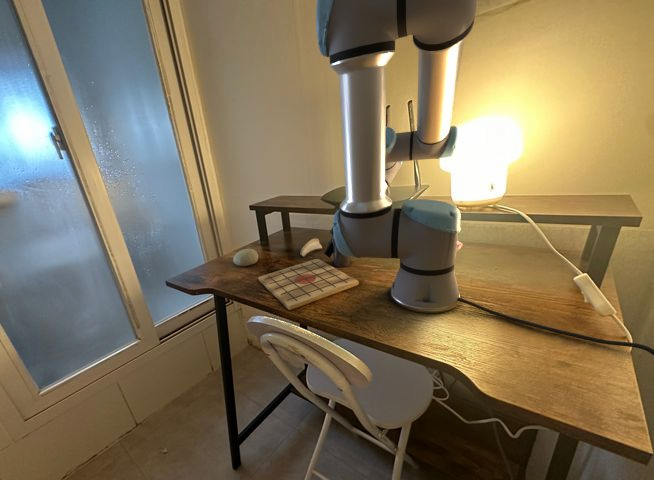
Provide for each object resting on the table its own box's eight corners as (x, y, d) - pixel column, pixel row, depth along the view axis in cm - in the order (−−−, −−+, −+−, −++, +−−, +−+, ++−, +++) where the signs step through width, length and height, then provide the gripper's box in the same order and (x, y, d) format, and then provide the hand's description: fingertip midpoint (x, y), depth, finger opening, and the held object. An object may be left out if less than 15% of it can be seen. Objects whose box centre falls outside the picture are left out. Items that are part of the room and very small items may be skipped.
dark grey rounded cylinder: (353, 263, 98) (352, 231, 93) (340, 268, 96) (338, 235, 91) (343, 259, 102) (342, 227, 97) (330, 263, 100) (328, 231, 96)
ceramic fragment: (317, 243, 119) (317, 233, 118) (329, 244, 116) (328, 234, 115) (298, 256, 110) (297, 247, 108) (311, 258, 107) (310, 248, 105)
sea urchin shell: (226, 260, 110) (236, 241, 111) (241, 269, 116) (250, 250, 117) (241, 265, 104) (251, 245, 105) (256, 274, 109) (265, 254, 110)
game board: (358, 284, 85) (358, 280, 84) (289, 310, 78) (288, 306, 77) (317, 261, 103) (317, 258, 103) (258, 280, 96) (258, 276, 96)
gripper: (399, 204, 91) (359, 271, 91) (355, 198, 105) (322, 256, 106) (386, 190, 86) (345, 260, 87) (343, 185, 101) (308, 246, 101)
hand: (332, 257), depth 96 cm, fingers closed on dark grey rounded cylinder, 5 cm apart
